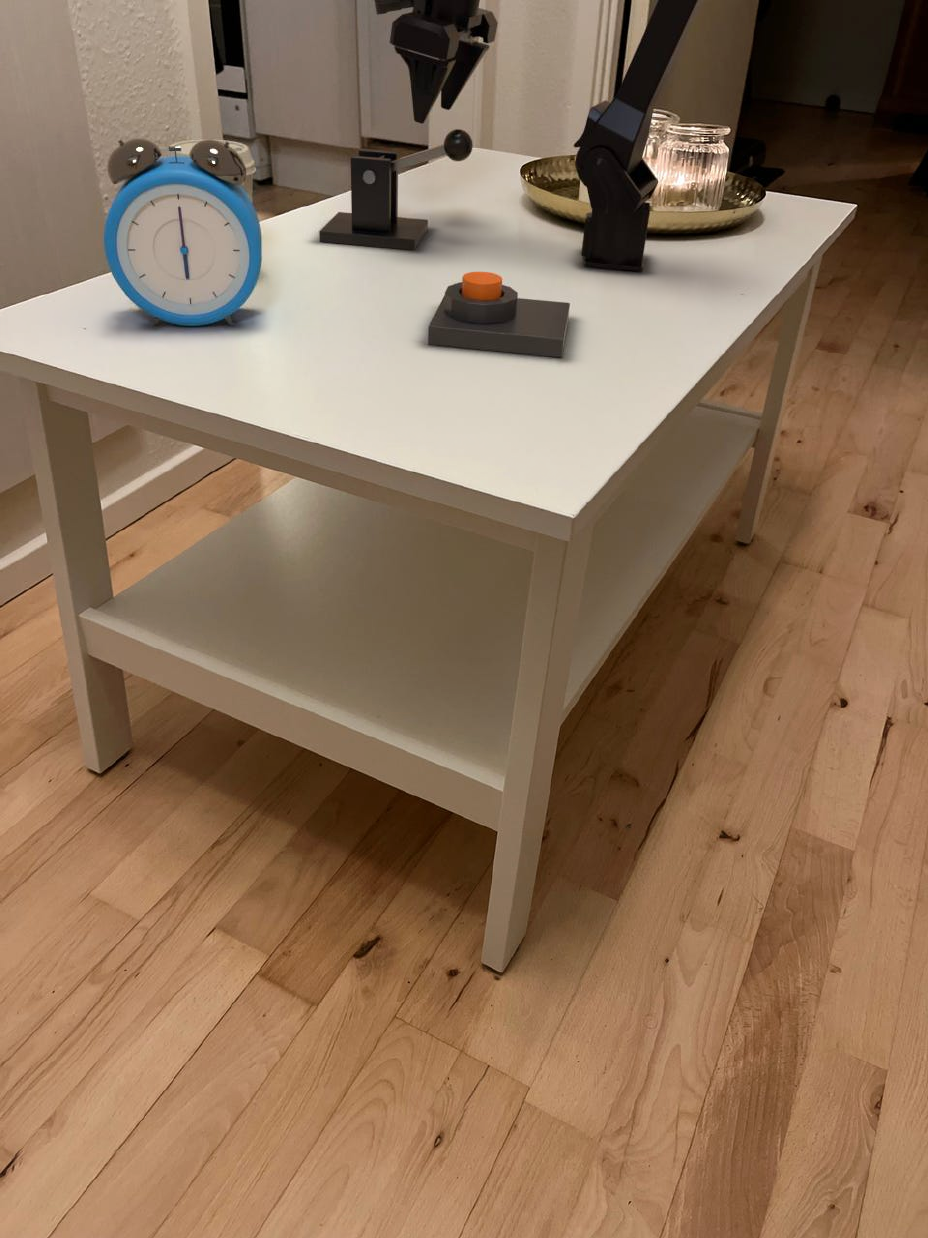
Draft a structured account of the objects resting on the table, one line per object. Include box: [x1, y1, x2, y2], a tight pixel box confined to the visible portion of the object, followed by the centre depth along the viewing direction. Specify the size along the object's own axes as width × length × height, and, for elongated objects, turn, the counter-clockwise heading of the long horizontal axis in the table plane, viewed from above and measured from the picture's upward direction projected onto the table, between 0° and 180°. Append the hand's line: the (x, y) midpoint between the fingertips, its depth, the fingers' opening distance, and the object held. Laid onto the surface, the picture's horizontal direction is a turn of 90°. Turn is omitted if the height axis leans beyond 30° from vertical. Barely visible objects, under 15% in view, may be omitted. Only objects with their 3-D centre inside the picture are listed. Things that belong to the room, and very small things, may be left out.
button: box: [461, 271, 503, 300], centre depth 89 cm, size 4×4×2 cm
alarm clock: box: [103, 137, 263, 327], centre depth 86 cm, size 13×6×15 cm, turn 100°
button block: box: [427, 281, 571, 358], centre depth 91 cm, size 12×10×4 cm
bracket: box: [318, 148, 429, 251], centre depth 113 cm, size 11×9×9 cm
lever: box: [378, 128, 474, 172], centre depth 110 cm, size 13×3×3 cm, turn 82°
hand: (432, 115), depth 110 cm, fingers open, 9 cm apart
